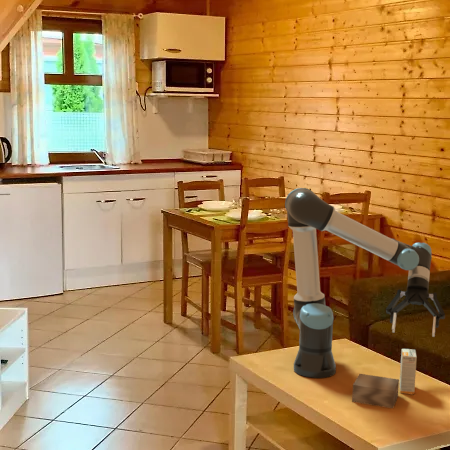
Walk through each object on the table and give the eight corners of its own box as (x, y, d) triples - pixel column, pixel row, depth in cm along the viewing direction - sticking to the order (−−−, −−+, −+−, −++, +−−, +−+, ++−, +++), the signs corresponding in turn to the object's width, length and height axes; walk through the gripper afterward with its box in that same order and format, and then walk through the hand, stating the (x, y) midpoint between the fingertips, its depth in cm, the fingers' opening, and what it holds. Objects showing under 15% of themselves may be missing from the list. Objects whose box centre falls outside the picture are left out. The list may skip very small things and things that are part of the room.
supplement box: (414, 394, 236) (417, 357, 234) (400, 393, 237) (402, 355, 235) (413, 385, 244) (415, 349, 242) (399, 384, 245) (401, 347, 243)
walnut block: (352, 402, 230) (352, 384, 229) (358, 390, 240) (359, 373, 239) (393, 409, 225) (394, 391, 224) (397, 396, 235) (399, 379, 234)
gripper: (453, 289, 259) (450, 341, 247) (384, 284, 267) (377, 334, 255) (454, 278, 253) (450, 331, 241) (383, 273, 261) (376, 323, 249)
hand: (413, 332), depth 248 cm, fingers open, 13 cm apart
